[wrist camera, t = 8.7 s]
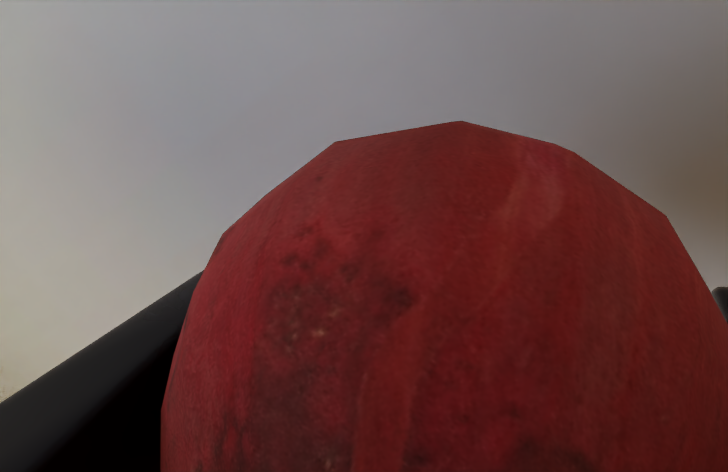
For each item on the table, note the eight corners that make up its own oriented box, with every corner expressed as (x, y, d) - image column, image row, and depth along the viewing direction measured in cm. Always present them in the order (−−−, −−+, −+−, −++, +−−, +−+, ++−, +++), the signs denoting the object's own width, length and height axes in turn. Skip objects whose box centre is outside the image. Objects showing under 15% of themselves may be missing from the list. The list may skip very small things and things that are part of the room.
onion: (232, 74, 10) (-348, 704, 3) (663, -37, 8) (1201, 1053, 1) (359, 355, 13) (177, 961, 6) (693, 331, 11) (900, 1192, 4)
